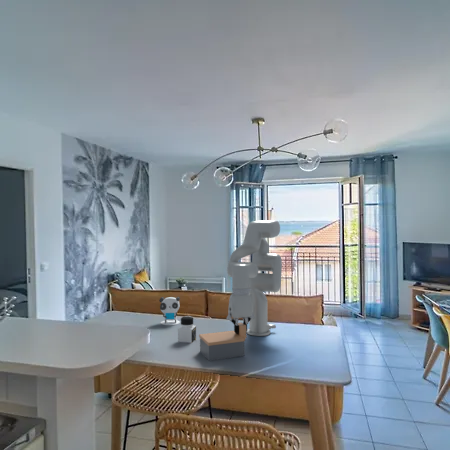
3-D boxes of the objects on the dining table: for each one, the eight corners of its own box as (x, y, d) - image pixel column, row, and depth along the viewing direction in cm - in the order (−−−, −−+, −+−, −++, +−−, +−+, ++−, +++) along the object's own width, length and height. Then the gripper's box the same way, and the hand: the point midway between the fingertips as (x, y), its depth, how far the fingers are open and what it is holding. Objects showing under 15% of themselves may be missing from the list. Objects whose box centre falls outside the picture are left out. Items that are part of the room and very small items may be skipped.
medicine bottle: (191, 344, 167) (191, 319, 167) (177, 343, 168) (177, 318, 168) (196, 339, 174) (196, 315, 174) (182, 338, 175) (182, 314, 175)
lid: (238, 335, 162) (238, 320, 162) (250, 343, 150) (250, 327, 150) (199, 339, 155) (199, 324, 155) (208, 348, 143) (208, 332, 143)
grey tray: (233, 348, 160) (233, 333, 161) (244, 357, 149) (244, 340, 149) (200, 353, 155) (200, 337, 155) (208, 362, 143) (208, 345, 144)
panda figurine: (158, 325, 201) (158, 299, 201) (161, 320, 212) (161, 295, 212) (179, 325, 201) (179, 299, 201) (181, 320, 212) (181, 295, 212)
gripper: (253, 289, 162) (253, 329, 162) (220, 291, 156) (220, 333, 156) (260, 291, 155) (260, 333, 155) (226, 294, 149) (226, 337, 149)
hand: (240, 332), depth 155 cm, fingers closed on lid, 3 cm apart
